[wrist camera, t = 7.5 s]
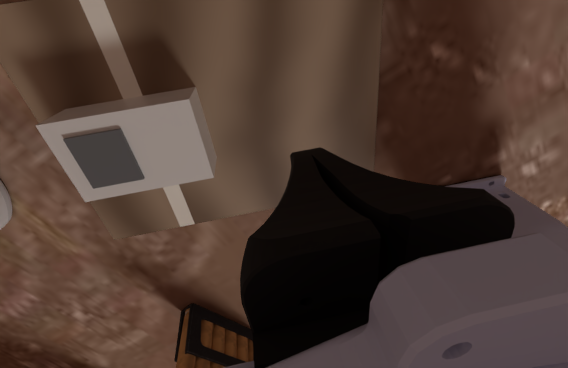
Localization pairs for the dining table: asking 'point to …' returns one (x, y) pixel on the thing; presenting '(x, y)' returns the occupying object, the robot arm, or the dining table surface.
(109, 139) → the block
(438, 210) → the robot arm
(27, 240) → the dining table surface
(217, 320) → the ammunition clip
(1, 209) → the eye dropper bottle
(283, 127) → the subfloor panel
